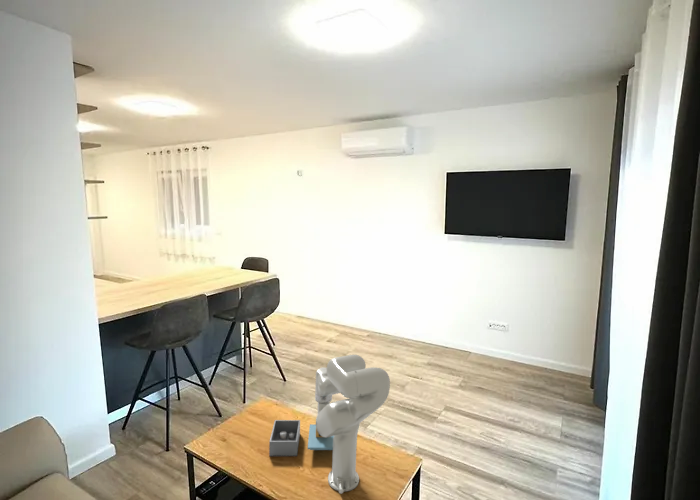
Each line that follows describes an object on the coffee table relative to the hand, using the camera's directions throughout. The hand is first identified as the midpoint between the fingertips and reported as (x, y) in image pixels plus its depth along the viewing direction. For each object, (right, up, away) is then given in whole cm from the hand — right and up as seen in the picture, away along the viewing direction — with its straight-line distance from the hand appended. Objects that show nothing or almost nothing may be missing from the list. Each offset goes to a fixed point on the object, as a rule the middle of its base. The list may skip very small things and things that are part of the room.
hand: (322, 433), depth 172 cm
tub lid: (0, -3, 0) cm, 3 cm away
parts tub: (-17, -6, +2) cm, 18 cm away
